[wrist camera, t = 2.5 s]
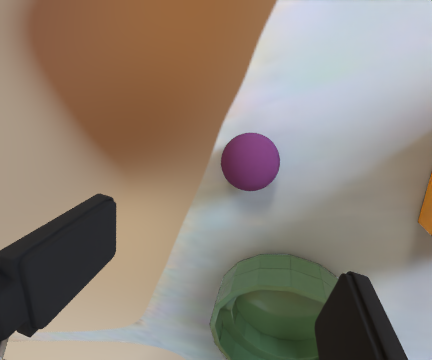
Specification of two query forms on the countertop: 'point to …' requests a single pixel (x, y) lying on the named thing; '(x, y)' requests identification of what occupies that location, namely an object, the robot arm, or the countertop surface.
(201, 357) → the countertop surface
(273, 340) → the bowl
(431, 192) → the orange juice
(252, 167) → the ball
